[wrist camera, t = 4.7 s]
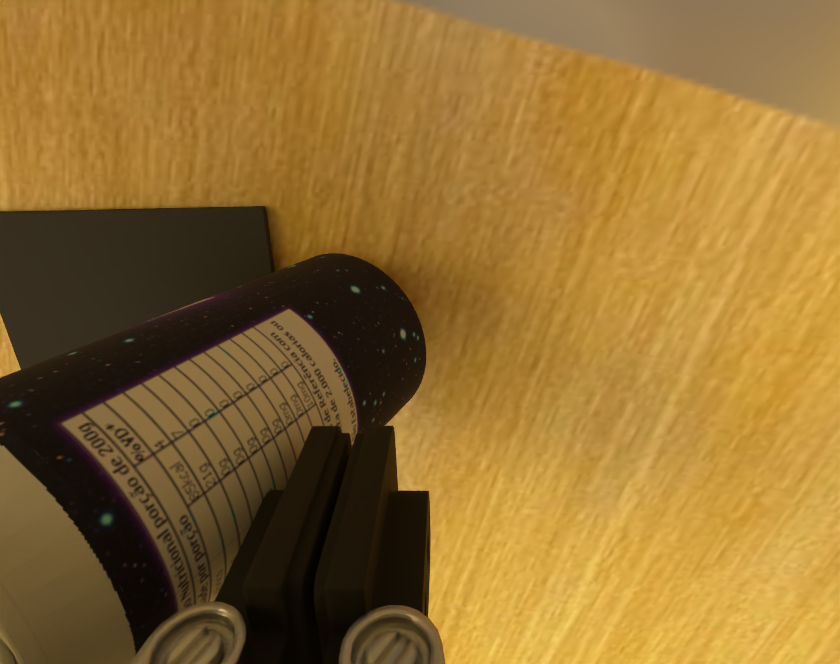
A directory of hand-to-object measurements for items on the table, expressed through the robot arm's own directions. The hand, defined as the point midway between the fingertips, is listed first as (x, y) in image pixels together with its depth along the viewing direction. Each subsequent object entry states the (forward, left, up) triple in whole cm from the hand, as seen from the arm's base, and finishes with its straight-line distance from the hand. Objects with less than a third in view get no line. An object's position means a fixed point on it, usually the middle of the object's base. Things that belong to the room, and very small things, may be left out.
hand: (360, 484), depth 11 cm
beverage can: (-1, -1, -8) cm, 8 cm away
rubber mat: (0, -9, -9) cm, 13 cm away
